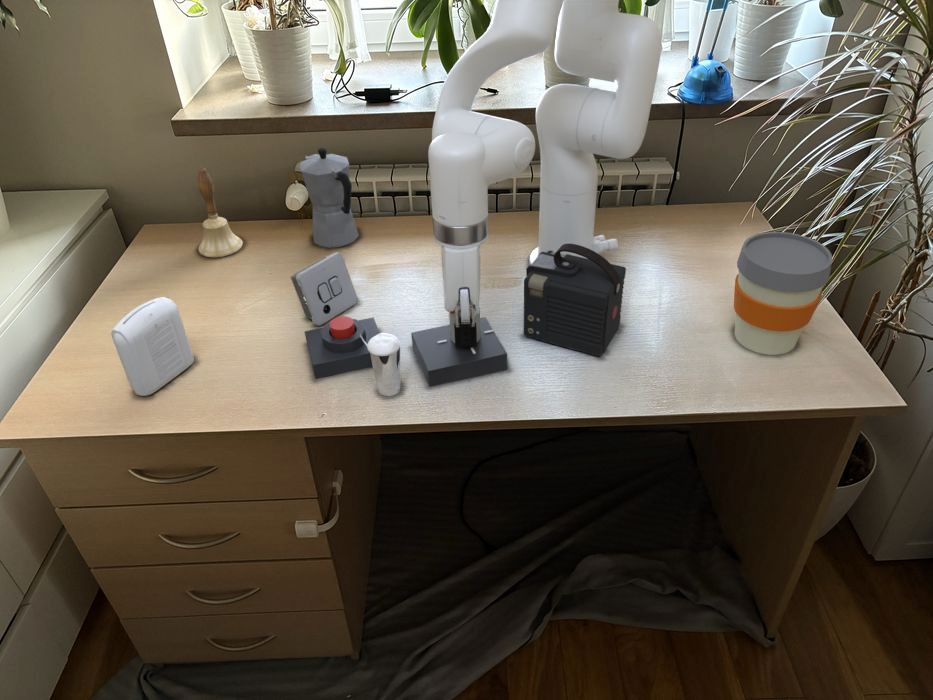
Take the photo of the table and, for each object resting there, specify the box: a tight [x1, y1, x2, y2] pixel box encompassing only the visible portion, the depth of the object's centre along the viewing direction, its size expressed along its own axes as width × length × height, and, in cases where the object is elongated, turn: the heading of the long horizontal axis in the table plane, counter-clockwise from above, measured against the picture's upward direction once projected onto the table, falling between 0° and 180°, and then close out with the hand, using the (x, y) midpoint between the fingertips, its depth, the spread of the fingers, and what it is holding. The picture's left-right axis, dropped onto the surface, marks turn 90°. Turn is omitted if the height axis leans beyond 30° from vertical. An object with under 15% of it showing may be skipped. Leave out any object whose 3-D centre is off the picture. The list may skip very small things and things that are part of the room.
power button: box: [329, 315, 355, 339], centre depth 112 cm, size 4×4×2 cm
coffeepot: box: [299, 147, 359, 249], centre depth 139 cm, size 15×9×18 cm, turn 37°
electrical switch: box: [290, 252, 358, 327], centre depth 123 cm, size 9×5×9 cm, turn 141°
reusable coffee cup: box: [733, 231, 833, 356], centre depth 110 cm, size 13×13×15 cm
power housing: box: [304, 317, 381, 380], centre depth 114 cm, size 11×9×4 cm
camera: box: [523, 244, 627, 357], centre depth 114 cm, size 11×14×15 cm
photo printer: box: [110, 296, 195, 397], centre depth 109 cm, size 10×4×12 cm, turn 152°
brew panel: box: [410, 316, 508, 388], centre depth 113 cm, size 12×10×3 cm
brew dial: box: [448, 302, 481, 343], centre depth 111 cm, size 5×5×5 cm
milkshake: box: [360, 332, 402, 397], centre depth 105 cm, size 4×5×10 cm
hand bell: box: [197, 167, 244, 258], centre depth 139 cm, size 8×8×16 cm
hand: (465, 333), depth 112 cm, fingers open, 5 cm apart
